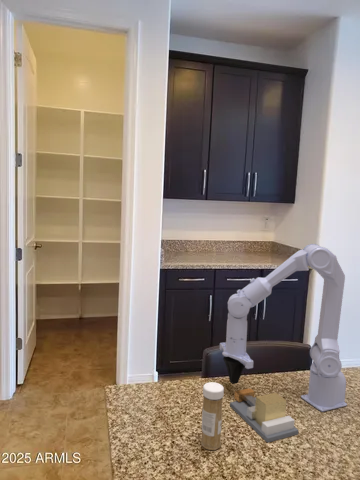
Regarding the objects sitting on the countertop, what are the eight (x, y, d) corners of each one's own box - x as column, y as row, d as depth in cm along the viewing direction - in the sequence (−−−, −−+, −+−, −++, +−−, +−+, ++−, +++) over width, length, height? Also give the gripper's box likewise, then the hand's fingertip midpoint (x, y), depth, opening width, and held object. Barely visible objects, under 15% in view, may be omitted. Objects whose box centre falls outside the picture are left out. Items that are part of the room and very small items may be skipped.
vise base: (257, 400, 99) (258, 389, 99) (298, 434, 84) (299, 422, 84) (229, 406, 95) (230, 395, 95) (267, 442, 81) (268, 430, 81)
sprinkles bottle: (224, 446, 79) (228, 388, 78) (208, 453, 76) (212, 393, 75) (211, 435, 82) (215, 379, 81) (196, 441, 80) (199, 384, 79)
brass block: (274, 415, 90) (275, 392, 90) (284, 424, 86) (286, 400, 86) (254, 420, 88) (255, 396, 87) (264, 429, 84) (266, 405, 83)
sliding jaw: (254, 394, 100) (254, 387, 99) (277, 413, 90) (278, 405, 90) (229, 399, 96) (230, 392, 96) (251, 419, 87) (251, 411, 87)
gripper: (211, 329, 106) (209, 373, 108) (238, 347, 93) (236, 397, 94) (231, 327, 109) (229, 370, 110) (260, 344, 96) (258, 392, 97)
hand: (234, 382), depth 103 cm, fingers closed
